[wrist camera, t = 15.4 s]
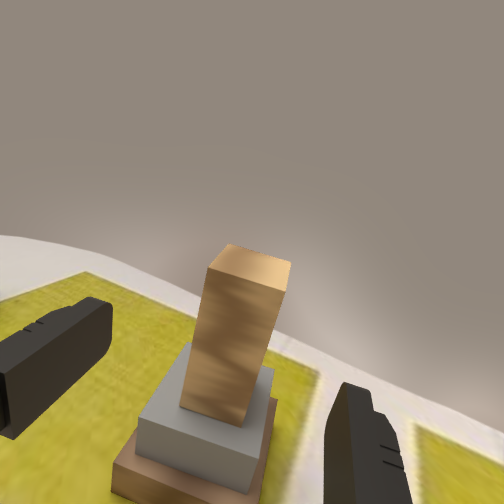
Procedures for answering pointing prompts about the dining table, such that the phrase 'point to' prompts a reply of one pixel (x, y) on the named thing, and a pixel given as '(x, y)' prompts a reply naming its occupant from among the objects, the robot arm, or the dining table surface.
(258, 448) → the gray slab
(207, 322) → the oak pillar
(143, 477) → the walnut slab
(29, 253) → the dining table surface
